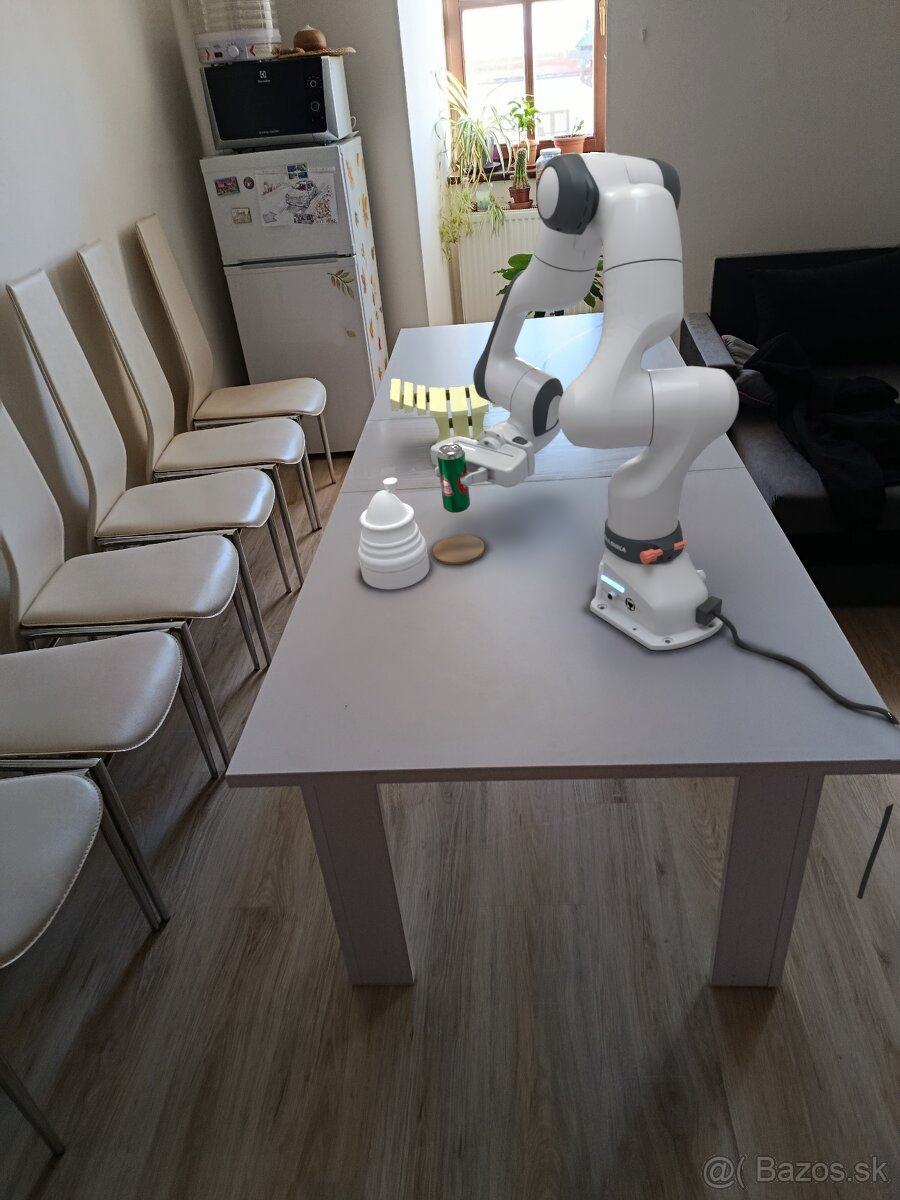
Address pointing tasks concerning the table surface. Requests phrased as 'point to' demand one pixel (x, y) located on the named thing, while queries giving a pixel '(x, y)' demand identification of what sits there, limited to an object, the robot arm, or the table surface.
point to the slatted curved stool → (443, 407)
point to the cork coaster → (458, 549)
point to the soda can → (453, 477)
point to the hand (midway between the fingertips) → (450, 477)
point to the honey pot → (391, 542)
